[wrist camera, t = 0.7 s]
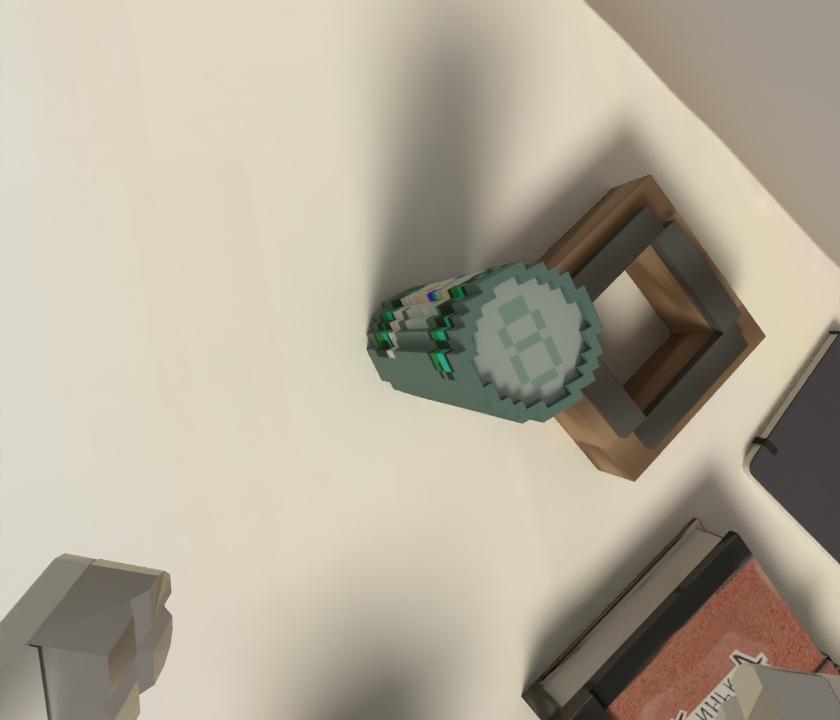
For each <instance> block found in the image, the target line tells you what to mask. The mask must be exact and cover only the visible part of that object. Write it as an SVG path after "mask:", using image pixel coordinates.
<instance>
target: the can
mask: <svg viewBox="0 0 840 720" xmlns="http://www.w3.org/2000/svg"><path fill="white" fill-rule="evenodd" d="M382 305H383V307H384V310H382V311H380V312H379V313H377V314H375V315H373V318H374V320H375V322H374V323H372V324H370V327H371V329H372V332H370V333H368V334H367V336H368V338H369V340H370V342H371V344H372V346H373V347H371V348H369V349H367V351H368V353H369V355H370V357H371V359H372V361H373V363H374V365H375V367H376V369H377V371H378V373H379V375H380V378H381V380H383V381H387V382H391V385H392V387H393V389H395V390H399V391H402V392H404V393H408V394H411V395H414V396H418V397H422V398H426V399H429V400H433V401H437V402H441V403H445V404H449V405H453V406H456V407H460V408H464V409H468V410H472V411H476V412H480V413H484V414H487V415H491V416H495V417H499V418H503V419H507V420H511V421H514V422H518V423H522V424H523V423H524V422H526V421H528V420H529V419H530V420H534V421H539V422H543V423H544V422H545V421H547V420H549V419H550V418H552V417H554V416H555V415H557V414H559V413H560V412H562V411H564V410H565V409H567V408H569V407H570V406H572V405H574V404H575V403H577V402H579V401H580V400H582V399H584V397H583V395H582V393H581V391H580V389H582V388H583V387H585V386H587V385H588V384H590V383H592V382H593V381H595V380H596V379H595V377H594V375H593V372H592V371H593V370H595V369H597V368H598V367H600V366H599V363H598V361H597V359H596V357H598V356H600V355H601V354H603V353H604V352H603V350H602V348H601V346H600V343H599V341H598V339H597V336H596V335H597V334H599V333H601V332H602V331H604V330H603V328H602V325H601V323H600V321H599V318H598V316H597V314H596V311H595V309H594V307H593V304H592V302H591V300H590V298H589V295H588V293H587V291H586V288H585V286H577V287H575V286H574V284H573V281H572V279H571V277H570V274H569V272H568V271H567V272H562V273H559V272H558V270H557V268H556V266H555V267H550V268H546V266H545V264H544V261H543V262H539V263H534V264H530V265H526V266H525V265H524V263H523V261H519V262H515V263H511V264H507V265H503V266H499V267H495V268H491V269H487V270H483V271H479V272H475V273H471V274H467V275H463V276H459V277H455V278H451V279H446V280H442V281H438V282H434V283H430V284H426V285H422V286H418V287H414V288H411V289H409V290H407V291H405V292H403V293H401V294H399V295H397V296H395V297H393V298H391V299H389V300H387V301H385V302H383V303H382Z"/></svg>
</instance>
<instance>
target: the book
mask: <svg viewBox="0 0 840 720" xmlns="http://www.w3.org/2000/svg"><path fill="white" fill-rule="evenodd" d="M743 662H747V663H754V664H760V665H767V666H774V667H781V668H787V669H794V670H801V671H808V672H813V673H822V674H829V675H836V676H840V666H839V665H837V664H835V663H833V661H832V660H831V659H830V657H829V656H828V655H827V654H825V653H823V652H821V651H819V650H818V649H817V647H816V646H815V644H814V643H813V641H812V640H811V638H810V637H809V636H808V634H807V633H806V631H805V630H804V628H803V627H802V625H801V624H800V623H799V621H798V620H797V618H796V617H795V615H794V614H793V612H792V611H791V609H790V608H789V607H788V605H787V604H786V602H785V601H784V599H783V598H782V596H781V595H780V594H779V592H778V591H777V589H776V588H775V586H774V585H773V583H772V582H771V580H770V579H769V578H768V576H767V575H766V573H765V572H764V570H763V569H762V567H761V566H760V565H759V563H758V562H757V560H756V559H755V557H754V556H753V554H752V553H751V552H750V550H749V549H748V547H747V546H746V544H745V543H744V541H743V540H742V538H741V537H740V536H739V534H738V533H736V532H733V531H729V532H728V533H727V534H726V535H725V536H724V537H720V536H718V535H715V534H712V533H710V532H707V531H706V530H705V529H704V528H703V526H702V525H701V523H700V522H699V520H698V519H697V518H694V519H693V520H692V521H691V522H690V523H689V524H688V525H687V526H686V527H685V528H684V529H683V530H682V531H681V532H680V533H679V534H678V535H677V536H676V537H675V538H674V539H673V540H672V541H671V542H670V543H669V544H668V545H667V546H666V548H665V549H664V550H663V551H662V552H661V553H660V554H659V555H658V556H657V557H656V558H655V559H654V560H653V561H652V562H651V563H650V564H649V565H648V566H647V567H646V568H645V569H644V570H643V571H642V572H641V573H640V574H639V575H638V576H637V577H636V578H635V579H634V580H633V582H632V583H631V584H630V585H629V586H628V587H627V588H626V589H625V590H624V591H623V592H622V593H621V594H620V595H619V596H618V597H617V598H616V599H615V600H614V601H613V602H612V603H611V604H610V605H609V606H608V607H607V608H606V609H605V610H604V611H603V612H602V613H601V614H600V616H599V617H598V618H597V619H596V620H595V621H594V622H593V623H592V624H591V625H590V626H589V627H588V628H587V629H586V630H585V631H584V632H583V633H582V634H581V635H580V636H579V637H578V638H577V639H576V640H575V641H574V642H573V643H572V644H571V645H570V646H569V647H568V648H567V650H566V651H565V652H564V653H563V654H562V655H561V656H560V657H559V658H558V659H557V660H556V661H555V662H554V663H553V664H552V665H551V666H550V667H549V668H548V669H547V670H546V671H545V672H544V673H543V674H542V675H541V676H540V677H539V678H538V679H537V680H536V681H535V683H534V684H533V685H532V686H531V687H530V688H529V689H528V690H527V691H526V692H525V693H524V694H523V695H522V696H521V697H522V698H523V699H524V700H525V701H526V703H527V704H528V705H529V706H530V707H531V709H532V710H533V711H534V712H535V713H536V715H537V716H538V717H539V718H540V719H541V720H715V718H716V716H717V713H718V710H719V708H720V705H721V703H723V702H725V701H726V700H728V699H730V698H731V697H733V696H735V695H736V694H735V691H734V689H733V686H732V683H731V679H732V677H733V675H734V673H735V671H736V668H737V667H739V666H740V665H741V664H742V663H743Z"/></svg>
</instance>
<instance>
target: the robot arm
mask: <svg viewBox="0 0 840 720" xmlns="http://www.w3.org/2000/svg"><path fill="white" fill-rule="evenodd" d="M170 594H171V580H170V574H169V573H167V572H166V571H162V570H157V569H151V568H146V567H140V566H135V565H130V564H124V563H119V562H113V561H108V560H102V559H92V558H87V557H82V556H77V555H71V554H66V553H65V554H63V555H61V556H59V557H57V558H55V559H54V560H53V561H52V562H51V563H50V565H49V566H48V567H47V568H46V569H45V570H44V572H43V573H42V574H41V575H40V576H39V577H38V579H37V580H36V581H35V582H34V583H33V584H32V586H31V587H30V588H29V589H28V590H27V591H26V593H25V594H24V595H23V596H22V597H21V598H20V600H19V601H18V602H17V603H16V604H15V605H14V607H13V608H12V609H11V610H10V611H9V612H8V614H7V615H6V616H5V617H4V618H3V619H2V621H1V622H0V720H136V719H137V717H138V715H139V713H140V703H139V694H141V693H143V692H144V691H146V690H147V689H149V688H150V687H152V686H153V685H155V683H156V681H157V679H158V677H159V675H160V673H161V671H162V669H163V667H164V664H165V660H166V657H167V654H168V651H169V648H170V644H171V637H172V615H171V614H170V613H169V611H168V610H167V609H166V608H165V606H164V605H165V603H166V601H167V599H168V598H169V596H170ZM731 683H732V686H733V689H734V691H735V694H736V695H735V696H733V697H731V698H730V699H728V700H726V701H725V702H723V703H721V705H720V708H719V710H718V713H717V716H716V718H715V720H840V676H836V675H829V674H822V673H813V672H808V671H801V670H794V669H787V668H781V667H774V666H767V665H760V664H754V663H747V662H743V663H742V664H741V665H740V666H739V667H737V668H736V671H735V673H734V675H733V677H732V679H731Z"/></svg>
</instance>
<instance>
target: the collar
mask: <svg viewBox="0 0 840 720" xmlns="http://www.w3.org/2000/svg"><path fill="white" fill-rule="evenodd" d="M543 261H544V264H545V266H546V268H550V267H555V266H556V268H557V270H558V272H559V273H562V272H567V271H568V272H569V274H570V277H571V279H572V281H573V284H574V286H575V287H577V286H585V288H586V291H587V293H588V295H589V298H590V300H591V302H593V301H594V300H595V299H596V298H597V297H598V296H599V295H600V294H601V293H602V292H603V291H604V290H605V289H606V288H607V287H608V286H609V285H610V284H611V283H612V282H613V281H614V280H615V279H616V278H617V277H618V276H619V275H620V274H621V273H622V272H623V271H624V270H625V271H626V272H627V273H628V275H629V276H630V277H631V279H632V280H633V281H634V283H635V284H636V285H637V287H638V288H639V289H640V291H641V292H642V293H643V295H644V296H645V297H646V299H647V300H648V301H649V303H650V304H651V305H652V307H653V308H654V309H655V311H656V312H657V313H658V315H659V316H660V317H661V319H662V320H663V321H664V323H665V324H666V325H667V327H668V328H669V329H670V331H671V332H672V333H673V334H672V335H671V336H670V337H669V338H668V339H667V341H666V342H665V343H664V344H663V345H662V346H661V347H660V348H659V349H658V350H657V351H656V352H655V353H654V354H653V355H652V356H651V357H650V359H649V360H648V361H647V362H646V363H645V364H644V365H643V366H642V367H641V368H640V369H639V370H638V371H637V372H636V373H635V374H634V375H633V377H632V378H631V379H630V380H629V381H628V382H627V383H626V384H625V385H624V386H623V387H622V386H621V385H620V383H619V382H618V381H617V380H616V378H615V377H614V376H613V375H612V373H611V372H610V371H609V370H608V368H607V367H606V366H605V364H604V363H603V362H602V361H601V359H600V358H599V357H596V359H597V361H598V363H599V366H600V367H598V368H597V369H595V370H593V371H592V372H593V375H594V377H595V379H596V380H595V381H593V382H592V383H590V384H588V385H587V386H585V387H583V388H582V389H580V391H581V393H582V395H583V397H584V399H582V400H580V401H579V402H577V403H575V404H574V405H572V406H570V407H569V408H567V409H565V410H564V411H562V412H560V413H559V414H557V415H555V416H554V417H555V419H556V420H557V421H558V422H559V423H560V425H561V426H562V427H563V428H564V429H565V431H566V432H567V433H568V434H569V435H570V437H571V438H572V439H573V440H574V441H575V443H576V444H577V445H578V446H579V447H580V449H581V450H582V451H583V452H584V453H585V455H586V456H587V457H588V458H589V459H590V461H591V462H592V463H593V464H594V465H595V467H596V468H597V469H598V470H600V471H603V472H606V473H609V474H612V475H615V476H618V477H622V478H625V479H628V480H631V481H634V482H635V481H636V480H637V479H638V478H639V477H640V475H641V474H642V473H643V472H644V471H645V470H646V469H647V468H648V467H649V465H650V464H651V463H652V462H653V461H654V460H655V459H656V458H657V457H658V455H659V454H660V453H661V452H662V451H663V450H664V449H665V448H666V447H667V445H668V444H669V443H670V442H671V441H672V440H673V439H674V438H675V437H676V436H677V434H678V433H679V432H680V431H681V430H682V429H683V428H684V427H685V426H686V424H687V423H688V422H689V421H690V420H691V419H692V418H693V417H694V416H695V414H696V413H697V412H698V411H699V410H700V409H701V408H702V407H703V406H704V404H705V403H706V402H707V401H708V400H709V399H710V398H711V397H712V396H713V395H714V393H715V392H716V391H717V390H718V389H719V388H720V387H721V386H722V385H723V383H724V382H725V381H726V380H727V379H728V378H729V377H730V376H731V375H732V373H733V372H734V371H735V370H736V369H737V368H738V367H739V366H740V365H741V363H742V362H743V361H744V360H745V359H746V358H747V357H748V356H749V355H750V354H751V352H752V351H753V350H754V349H755V348H756V347H757V346H758V345H759V344H760V342H761V341H762V340H763V339H764V338H765V337H766V336H765V334H764V333H763V332H762V330H761V329H760V327H759V326H758V325H757V323H756V322H755V320H754V319H753V318H752V316H751V315H750V313H749V312H748V311H747V309H746V308H745V306H744V305H743V304H742V302H741V301H740V299H739V298H738V297H737V295H736V294H735V292H734V291H733V289H732V288H731V287H730V285H729V284H728V282H727V281H726V280H725V278H724V277H723V275H722V274H721V273H720V271H719V270H718V268H717V267H716V266H715V264H714V263H713V261H712V260H711V259H710V257H709V256H708V254H707V253H706V252H705V250H704V249H703V247H702V246H701V245H700V243H699V242H698V240H697V239H696V238H695V236H694V235H693V233H692V232H691V230H690V229H689V228H688V226H687V225H686V223H685V222H684V221H683V219H682V218H681V216H680V215H679V214H678V212H677V211H676V209H675V208H674V207H673V205H672V204H671V202H670V201H669V200H668V198H667V197H666V195H665V194H664V193H663V191H662V190H661V188H660V187H659V186H658V184H657V183H656V181H655V180H654V179H653V177H652V176H651V174H650V175H648V176H645V177H642V178H639V179H637V180H634V181H631V182H629V183H626V184H623V185H620V186H618V187H615V188H612V189H611V190H610V191H609V192H608V193H607V194H606V195H605V196H604V197H603V198H602V199H601V200H600V201H599V202H598V203H597V204H596V205H595V206H594V207H593V208H592V209H591V210H590V211H589V212H588V213H587V214H586V215H584V216H583V217H582V218H581V219H580V220H579V221H578V222H577V223H576V224H575V225H574V226H573V227H572V228H571V229H570V230H569V231H568V232H567V233H566V234H565V235H564V236H563V237H562V238H561V239H560V240H559V241H558V242H556V243H555V244H554V245H553V246H552V247H551V248H550V249H549V250H548V251H547V252H546V253H545V254H544V255H543V256H542V257H541V258H540V259H539V260H538V261H537V262H536V263H539V262H543Z"/></svg>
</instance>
